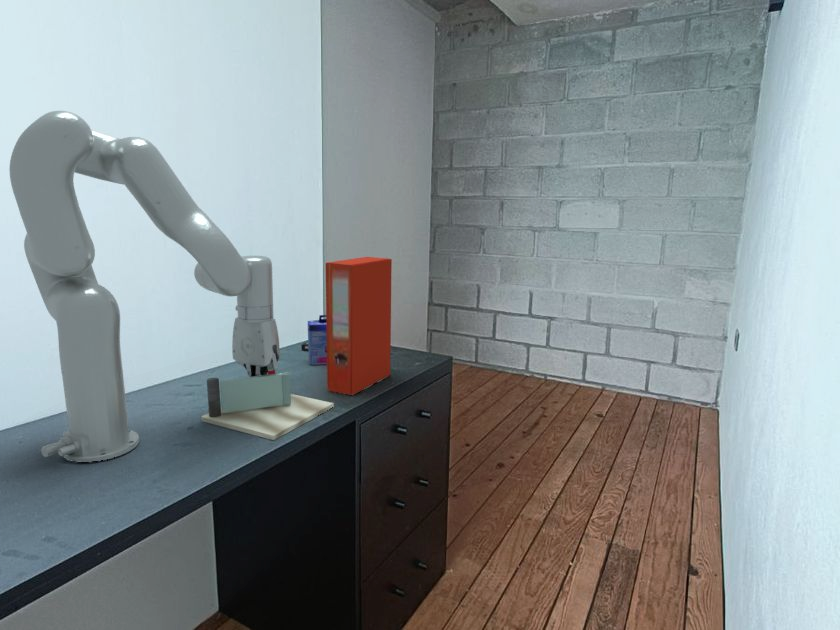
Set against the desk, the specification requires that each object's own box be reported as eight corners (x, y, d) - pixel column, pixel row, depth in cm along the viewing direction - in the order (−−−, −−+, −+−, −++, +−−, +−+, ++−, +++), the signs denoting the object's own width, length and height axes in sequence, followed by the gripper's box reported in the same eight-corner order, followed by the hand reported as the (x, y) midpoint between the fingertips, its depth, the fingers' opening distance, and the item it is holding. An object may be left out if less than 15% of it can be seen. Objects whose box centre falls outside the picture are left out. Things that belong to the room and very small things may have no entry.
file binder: (391, 377, 146) (391, 258, 139) (354, 396, 131) (352, 264, 124) (366, 372, 150) (365, 256, 143) (327, 390, 135) (324, 262, 128)
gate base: (273, 440, 106) (271, 397, 105) (201, 421, 115) (198, 380, 113) (333, 407, 124) (333, 369, 122) (266, 392, 133) (265, 357, 131)
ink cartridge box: (309, 366, 155) (308, 316, 152) (307, 360, 160) (306, 312, 157) (344, 363, 157) (343, 314, 154) (341, 358, 163) (340, 311, 160)
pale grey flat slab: (222, 413, 116) (220, 382, 114) (222, 410, 117) (220, 379, 116) (291, 403, 122) (289, 374, 120) (289, 401, 123) (288, 371, 122)
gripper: (217, 311, 118) (221, 391, 122) (270, 319, 112) (273, 403, 116) (242, 306, 125) (244, 382, 129) (293, 313, 119) (295, 392, 122)
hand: (258, 392), depth 122 cm, fingers closed
